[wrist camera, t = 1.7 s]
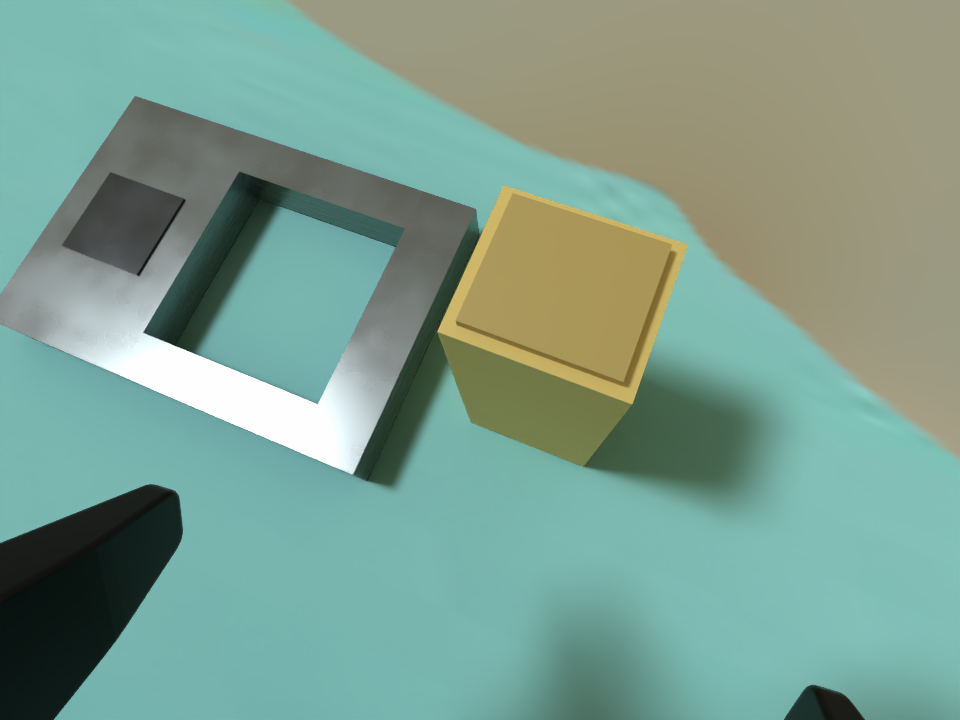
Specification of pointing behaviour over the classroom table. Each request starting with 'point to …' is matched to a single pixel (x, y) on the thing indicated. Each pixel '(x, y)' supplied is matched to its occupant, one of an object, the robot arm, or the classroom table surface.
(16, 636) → the robot arm
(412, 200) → the grey metal flat frame
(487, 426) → the yellow square block
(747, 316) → the classroom table surface
